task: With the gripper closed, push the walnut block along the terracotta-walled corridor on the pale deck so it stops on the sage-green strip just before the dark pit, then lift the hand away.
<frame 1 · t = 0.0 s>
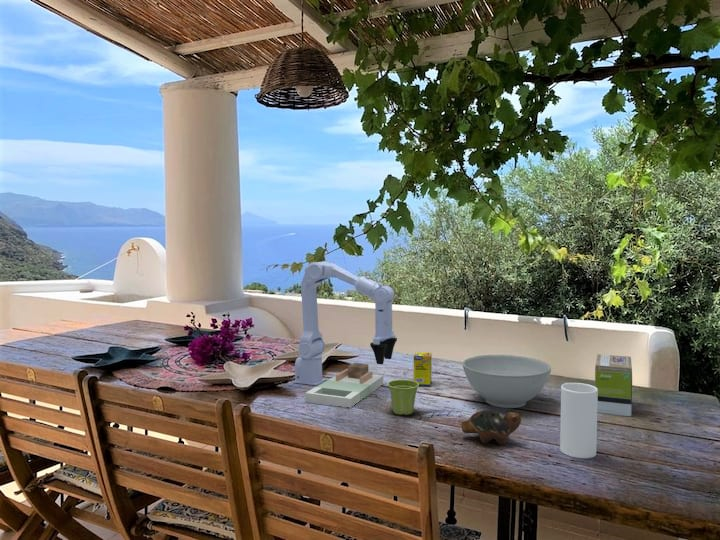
hand: (384, 361, 181), 10 cm above the table, tool pointing down, fingers open, 7 cm apart
decorative bowl: (505, 402, 168), on the table
cup: (577, 452, 130), on the table
supplement box: (422, 384, 188), on the table
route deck: (346, 392, 179), on the table
tea box: (612, 408, 162), on the table
walnut block: (358, 376, 188), point 3 cm above the table, touching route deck
decorative turtle: (490, 441, 138), on the table
plant pot: (403, 412, 160), on the table
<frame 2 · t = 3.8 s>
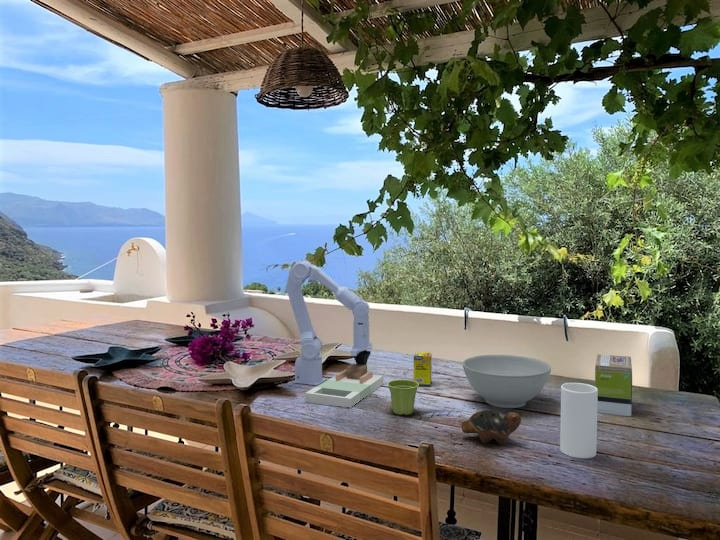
hand: (361, 371, 191), 4 cm above the table, tool pointing down, fingers closed
walnut block: (357, 377, 187), point 3 cm above the table, touching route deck
everything else where it was.
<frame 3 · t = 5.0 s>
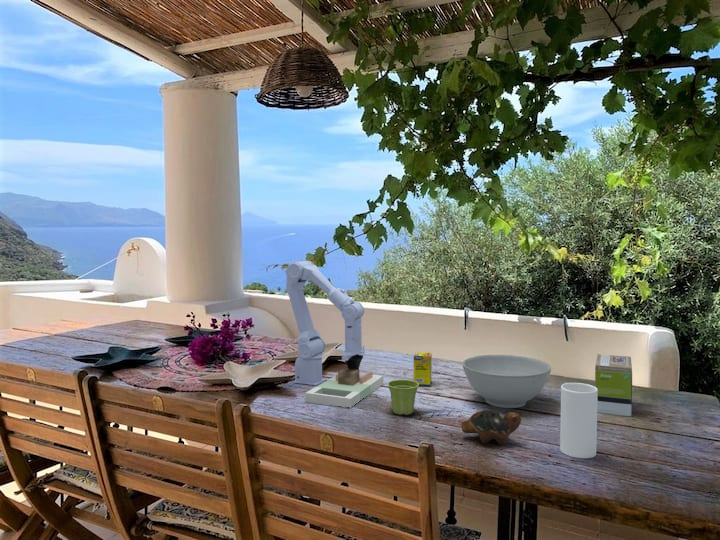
hand: (353, 376, 185), 4 cm above the table, tool pointing down, fingers closed
walnut block: (348, 382, 181), point 3 cm above the table
everything else where it was.
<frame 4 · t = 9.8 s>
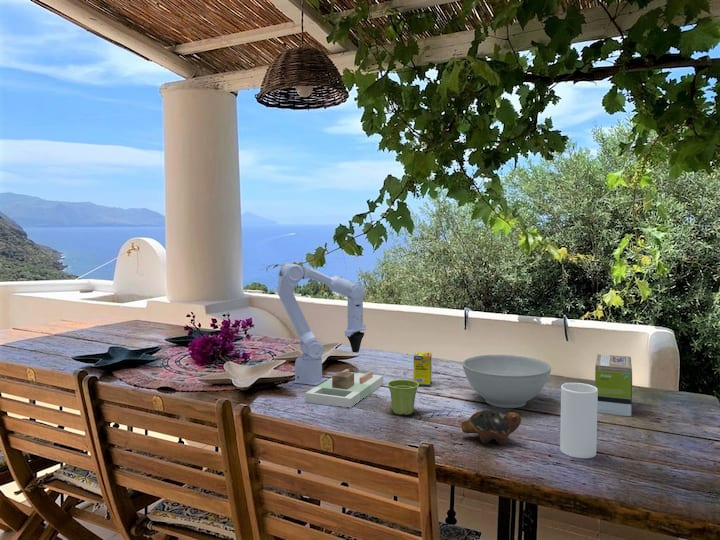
hand: (355, 352, 198), 9 cm above the table, tool pointing down, fingers closed
walnut block: (343, 386, 177), point 3 cm above the table, touching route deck
everything else where it was.
at the end: walnut block inside the target area on the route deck (0.4 cm from its centre), point 3.0 cm above the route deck's base; walnut block tilted 0°; walnut block moved 12.8 cm from its start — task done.
